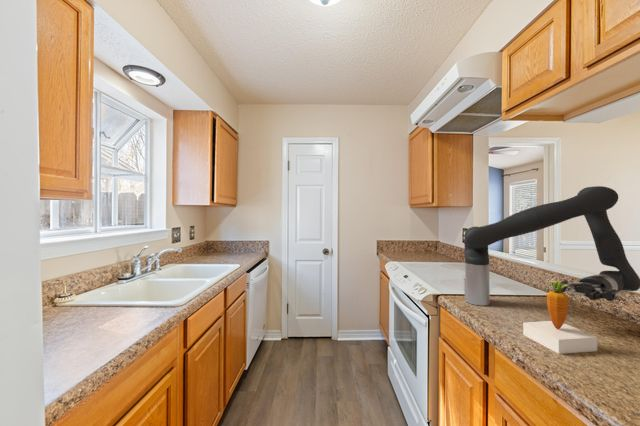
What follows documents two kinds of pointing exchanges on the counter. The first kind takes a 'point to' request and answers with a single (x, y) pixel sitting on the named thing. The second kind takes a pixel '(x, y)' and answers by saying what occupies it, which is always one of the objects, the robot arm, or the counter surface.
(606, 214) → the robot arm
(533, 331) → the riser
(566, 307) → the carrot
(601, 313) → the counter surface
